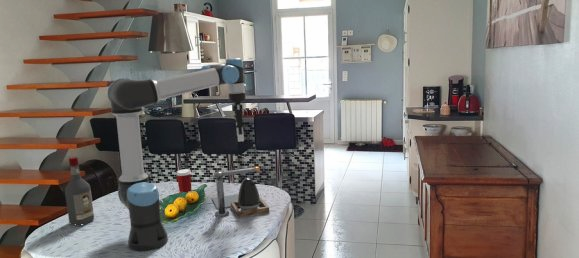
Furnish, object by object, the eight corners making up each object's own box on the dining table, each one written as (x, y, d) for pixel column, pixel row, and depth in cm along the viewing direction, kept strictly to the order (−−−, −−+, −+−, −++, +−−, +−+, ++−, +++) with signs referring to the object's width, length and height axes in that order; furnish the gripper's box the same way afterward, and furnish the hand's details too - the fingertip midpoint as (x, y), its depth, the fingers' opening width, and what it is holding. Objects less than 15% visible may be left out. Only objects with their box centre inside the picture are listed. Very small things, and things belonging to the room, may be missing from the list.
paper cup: (195, 194, 240) (193, 168, 238) (191, 199, 233) (188, 173, 230) (181, 194, 241) (178, 169, 239) (176, 199, 234) (173, 173, 231)
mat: (217, 209, 217) (217, 208, 217) (212, 199, 232) (211, 197, 232) (250, 204, 222) (250, 203, 222) (243, 194, 237) (242, 193, 237)
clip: (215, 178, 205) (214, 174, 205) (213, 175, 209) (213, 171, 209) (260, 171, 211) (260, 168, 211) (258, 169, 215) (258, 165, 215)
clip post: (216, 217, 207) (213, 180, 204) (214, 212, 213) (211, 176, 210) (230, 215, 209) (227, 178, 206) (227, 210, 215) (224, 174, 212)
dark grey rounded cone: (250, 215, 208) (248, 183, 205) (234, 211, 214) (231, 179, 211) (265, 208, 216) (263, 177, 213) (248, 204, 222) (246, 174, 219)
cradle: (237, 217, 206) (237, 212, 205) (231, 207, 220) (230, 202, 219) (269, 212, 210) (269, 207, 210) (261, 202, 224) (260, 197, 224)
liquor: (66, 223, 209) (57, 159, 203) (83, 216, 216) (75, 154, 211) (80, 226, 204) (71, 161, 199) (97, 219, 212) (88, 156, 207)
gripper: (246, 94, 199) (250, 143, 204) (243, 89, 223) (247, 132, 227) (229, 96, 198) (232, 144, 203) (228, 90, 222) (231, 133, 226)
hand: (240, 138), depth 215 cm, fingers open, 12 cm apart
